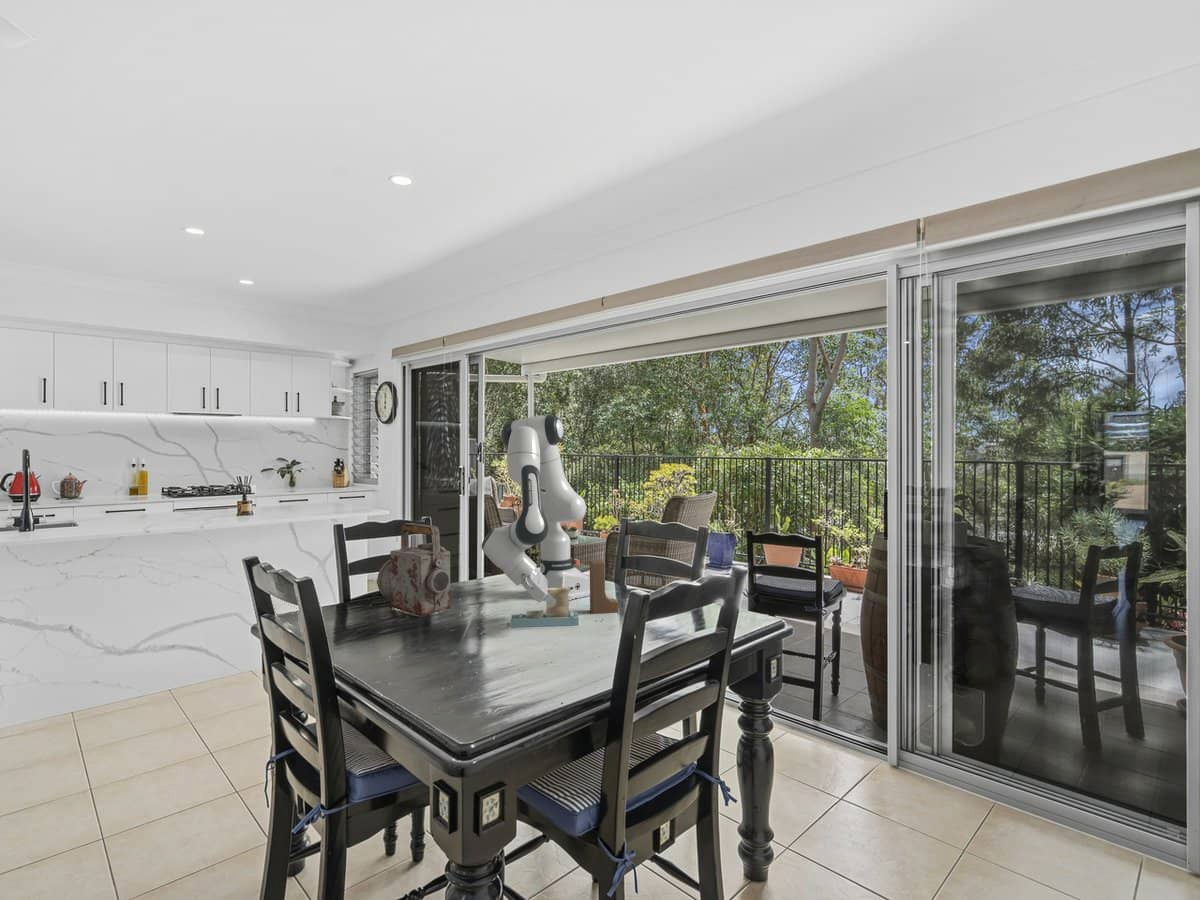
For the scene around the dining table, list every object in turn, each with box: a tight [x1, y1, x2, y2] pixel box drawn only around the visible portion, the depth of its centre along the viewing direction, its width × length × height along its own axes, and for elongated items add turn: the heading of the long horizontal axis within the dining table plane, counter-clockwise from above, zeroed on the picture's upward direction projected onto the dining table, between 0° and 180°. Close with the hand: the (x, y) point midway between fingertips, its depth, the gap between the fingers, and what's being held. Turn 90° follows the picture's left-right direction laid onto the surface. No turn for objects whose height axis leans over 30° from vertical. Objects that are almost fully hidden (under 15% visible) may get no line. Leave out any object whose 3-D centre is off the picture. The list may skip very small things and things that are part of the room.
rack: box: [508, 611, 581, 630], centre depth 200 cm, size 22×9×4 cm, turn 94°
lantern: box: [376, 522, 452, 616], centre depth 222 cm, size 16×27×30 cm, turn 51°
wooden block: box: [589, 559, 619, 615], centre depth 214 cm, size 9×4×18 cm, turn 101°
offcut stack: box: [524, 610, 544, 618], centre depth 200 cm, size 6×2×4 cm, turn 94°
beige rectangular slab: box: [545, 588, 570, 618], centre depth 200 cm, size 7×2×11 cm, turn 94°
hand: (554, 601), depth 200 cm, fingers closed on beige rectangular slab, 2 cm apart
